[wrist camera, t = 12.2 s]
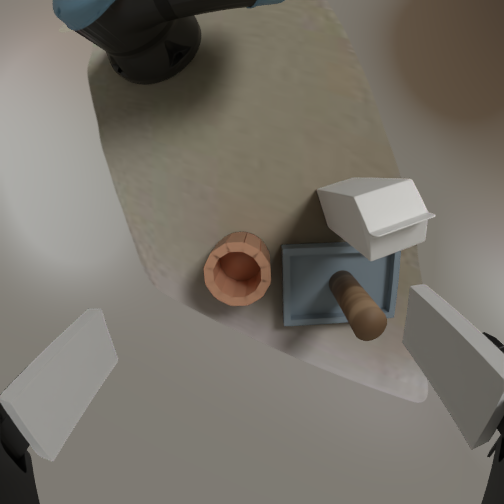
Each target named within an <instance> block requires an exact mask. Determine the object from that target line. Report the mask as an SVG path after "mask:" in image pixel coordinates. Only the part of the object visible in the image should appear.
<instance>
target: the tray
mask: <svg viewBox="0 0 504 504" xmlns="http://www.w3.org/2000/svg"><path fill="white" fill-rule="evenodd" d="M281 248H282V287H283V322H284V326H300V325H316V324H330V323H343V322H348V320H347V319H346V317H345V315H344V313H343V311H342V310H341V308H340V306H339V304H338V302H337V301H336V299H335V297H334V295H333V293H332V292H331V290H330V288H329V280H330V278H331V276H332V275H333V274H334V273H336V272H338V271H341V270H344V271H348V272H349V273H351V274H352V276H353V277H354V278H355V279H356V280H357V281H358V283H359V284H360V285H361V286H362V287H363V288H364V290H365V291H366V292H367V293H368V294H369V296H370V297H371V298H372V299H373V300H374V302H375V303H376V304H377V305H378V306H379V308H380V309H381V310H382V311H383V312H384V314H385V315H386V318H392V317H394V313H395V305H396V297H397V289H398V279H399V268H400V256H401V251H398V252H395V253H393V254H390V255H387V256H385V257H382V258H379V259H377V260H374V261H370V260H368V259H367V258H366V257H365V256H363V255H362V254H361V253H360V252H359V251H357V250H356V249H355V248H354V247H352V246H351V245H350V244H349V243H347V242H337V243H311V244H286V245H281Z"/></svg>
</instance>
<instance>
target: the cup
mask: <svg viewBox="0 0 504 504" xmlns="http://www.w3.org/2000/svg"><path fill="white" fill-rule="evenodd" d="M204 277H205V284H206V286H207V288H208V289H209V290H210V292H211V293H212V295H213V296H214V297H215V298H216V299H218V300H220V301H222V302H224V303H226V304H228V305H231V306H247V305H250V304H251V303H253V302H255V301H257V300H258V299H260V298H262V296H264V294H265V292H266V290H267V289H268V287H269V285H270V283H271V268H270V253H269V251H268V249H267V247H266V245H265V244H264V242H263V241H262V240H261V239H260V238H259V237H257V236H255V235H254V234H251V233H248V232H235V233H231V234H229V235H227V236H225V237H224V238H223V239H222V240H220V241H219V242H218V243H217V245H216V246H215V247H214V249H213V250H212V252H211V253H210V255H209V257H208V259H207V261H206V264H205V266H204Z"/></svg>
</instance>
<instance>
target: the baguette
mask: <svg viewBox="0 0 504 504" xmlns="http://www.w3.org/2000/svg"><path fill="white" fill-rule="evenodd" d="M329 288H330V290H331V292H332V293H333V295H334V297H335V299H336V301H337V302H338V304H339V306H340V308H341V310H342V311H343V313H344V315H345V317H346V319H347V320H348V322H349V324H350V326H351V328H352V330H353V331H354V333H355V335H356V337H357V338H359V339H360V340H363V341H370V340H373V339H376V338H377V337H379V336H380V335H381V334H382V333H383V332H384V330H385V328H386V325H387V318H386V315H385V314H384V312H383V311H382V310H381V309H380V308H379V306H378V305H377V304H376V303H375V302H374V300H373V299H372V298H371V297H370V296H369V294H368V293H367V292H366V291H365V290H364V288H363V287H362V286H361V285H360V284H359V283H358V281H357V280H356V279H355V278H354V277H353V276H352V274H351V273H349V272H348V271H344V270H341V271H338V272H336V273H334V274H333V275H332V276H331V278H330V280H329Z"/></svg>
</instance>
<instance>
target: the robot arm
mask: <svg viewBox="0 0 504 504" xmlns="http://www.w3.org/2000/svg"><path fill="white" fill-rule="evenodd" d="M283 1H284V0H53V10H54V13H55V15H56V16H57V17H58V18H59V19H60V20H61V21H63V22H64V23H65V24H66V25H67V27H68V28H69V29H71V30H74V31H75V32H77V33H78V34H80V35H82V36H83V37H85V38H86V39H88V40H89V41H91V42H93V43H94V44H96V45H97V46H99V47H100V48H102V49H103V50H105V51H106V53H107V55H108V58H109V60H110V63H111V65H112V67H113V69H114V70H115V71H116V72H117V73H118V74H119V75H120V76H122V77H123V78H125V79H126V80H128V81H130V82H133V83H137V84H152V83H157V82H161V81H163V80H166V79H168V78H170V77H172V76H174V75H175V74H177V73H178V72H180V71H181V70H182V69H183V68H185V67H186V66H187V65H188V64H189V62H190V61H191V60H192V59H193V57H194V56H195V54H196V52H197V50H198V48H199V45H200V41H201V30H200V26H199V24H198V22H197V20H196V18H195V16H194V15H198V14H203V13H209V12H214V11H221V10H227V9H234V8H242V7H246V8H254V7H256V6H261V5H269V4H278V3H281V2H283ZM402 342H403V344H404V345H405V347H406V348H407V350H408V351H409V352H410V354H411V355H412V357H413V358H414V360H415V361H416V363H417V364H418V366H419V367H420V368H421V370H422V371H423V373H424V374H425V376H426V377H427V379H428V380H429V382H430V383H431V385H432V386H433V388H434V390H435V391H436V392H437V394H438V396H439V397H440V399H441V400H442V402H443V404H444V405H445V407H446V408H447V410H448V411H449V413H450V415H451V416H452V418H453V420H454V421H455V423H456V424H457V426H458V428H459V429H460V431H461V433H462V434H463V436H464V438H465V440H466V441H467V443H468V445H469V447H470V448H471V449H474V448H476V447H478V446H480V445H482V444H484V443H486V442H488V441H489V440H490V439H491V437H492V435H493V434H494V432H495V431H496V429H498V431H499V432H500V434H501V435H500V437H499V438H498V440H497V441H496V443H495V444H494V446H493V447H492V449H491V450H490V452H489V454H488V456H487V457H490V456H491V455H492V453H493V452H494V451H495V455H494V459H493V464H492V469H491V472H490V476H489V480H488V484H487V487H486V491H485V494H484V497H483V500H482V504H504V345H503V344H502V343H501V342H500V341H499V340H497V339H496V338H495V337H493V336H491V335H489V334H487V333H485V332H484V333H481V332H480V331H479V330H478V329H477V328H476V327H475V326H474V325H473V324H471V323H470V322H469V321H468V320H467V319H466V318H465V317H464V316H462V315H461V314H460V313H459V312H458V311H457V310H456V309H454V308H453V307H452V306H451V305H450V304H448V303H447V302H446V301H445V300H444V299H443V298H441V297H440V296H439V295H438V294H437V293H435V292H434V291H433V290H432V289H431V288H429V287H428V286H427V285H426V284H421V285H414V286H410V291H409V300H408V308H407V315H406V323H405V329H404V336H403V341H402ZM117 362H118V357H117V354H116V351H115V348H114V345H113V343H112V340H111V337H110V334H109V331H108V328H107V325H106V322H105V318H104V315H103V312H102V309H88V310H86V311H85V312H84V313H83V314H82V315H81V316H80V317H79V318H78V319H77V320H75V321H74V322H73V323H72V324H71V325H70V326H69V327H68V328H67V329H66V330H65V331H64V332H63V333H61V334H60V335H59V336H58V337H57V338H56V339H55V340H54V341H53V342H52V343H51V344H50V345H49V346H48V347H47V348H46V349H45V350H44V351H43V352H42V353H41V354H40V355H39V356H38V357H37V358H36V359H35V360H34V361H33V362H32V363H31V364H30V365H29V366H27V367H26V368H25V369H24V370H23V371H22V372H21V373H20V375H18V376H17V377H16V378H15V379H14V381H13V382H12V383H11V384H10V385H9V386H8V387H7V388H6V389H5V390H4V391H3V392H2V393H1V394H0V504H40V503H39V499H38V494H37V489H36V485H35V479H34V474H33V467H32V460H31V456H30V454H29V452H28V451H27V448H28V447H29V445H30V446H31V447H32V448H33V450H34V451H35V452H36V453H37V454H38V456H40V457H42V458H45V459H47V460H49V461H52V462H53V461H54V460H55V458H56V456H57V455H58V453H59V451H60V450H61V448H62V446H63V445H64V443H65V441H66V440H67V438H68V437H69V435H70V433H71V431H72V430H73V429H74V427H75V425H76V424H77V422H78V421H79V419H80V418H81V416H82V414H83V413H84V411H85V410H86V408H87V407H88V405H89V404H90V402H91V401H92V399H93V397H94V396H95V394H96V393H97V391H98V390H99V388H100V387H101V385H102V384H103V382H104V381H105V379H106V378H107V376H108V375H109V374H110V372H111V371H112V369H113V368H114V366H115V365H116V363H117Z"/></svg>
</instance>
